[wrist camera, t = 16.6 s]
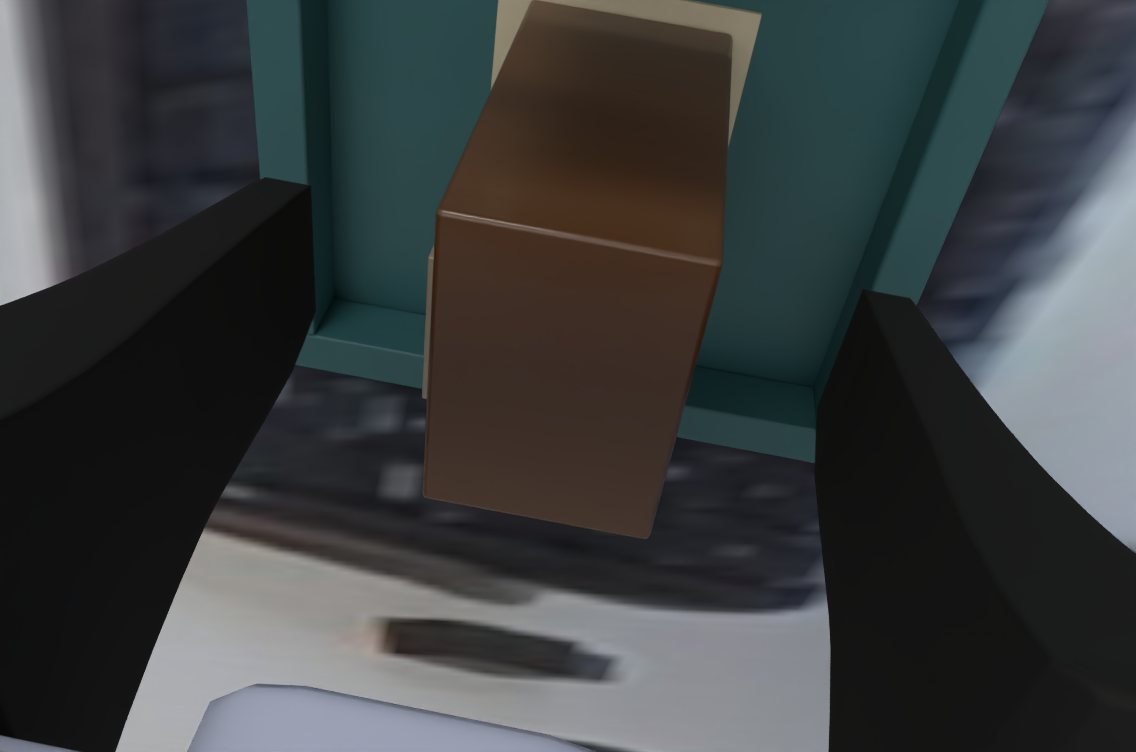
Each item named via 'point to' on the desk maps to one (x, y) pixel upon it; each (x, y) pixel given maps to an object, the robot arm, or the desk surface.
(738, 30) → the cream flat panel
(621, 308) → the brown rectangular block
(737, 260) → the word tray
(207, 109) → the desk surface
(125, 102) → the desk surface
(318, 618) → the desk surface
